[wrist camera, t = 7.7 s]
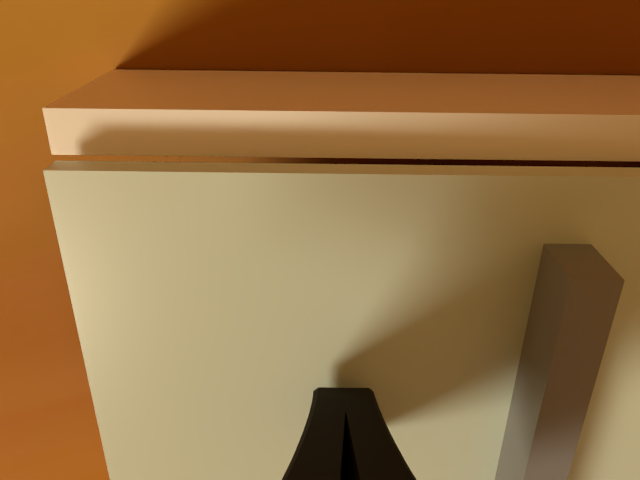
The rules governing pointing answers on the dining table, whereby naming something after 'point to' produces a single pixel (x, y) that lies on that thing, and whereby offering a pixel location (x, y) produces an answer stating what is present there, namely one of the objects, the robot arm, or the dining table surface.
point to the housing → (350, 115)
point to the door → (357, 312)
